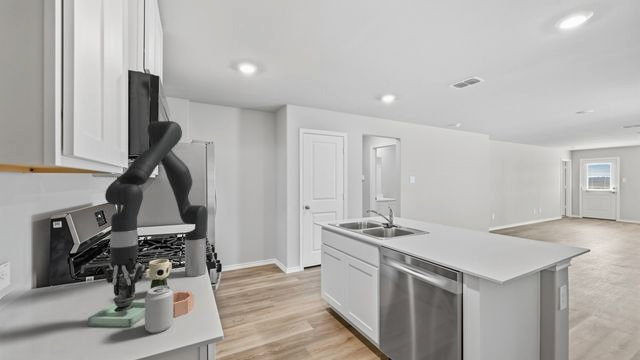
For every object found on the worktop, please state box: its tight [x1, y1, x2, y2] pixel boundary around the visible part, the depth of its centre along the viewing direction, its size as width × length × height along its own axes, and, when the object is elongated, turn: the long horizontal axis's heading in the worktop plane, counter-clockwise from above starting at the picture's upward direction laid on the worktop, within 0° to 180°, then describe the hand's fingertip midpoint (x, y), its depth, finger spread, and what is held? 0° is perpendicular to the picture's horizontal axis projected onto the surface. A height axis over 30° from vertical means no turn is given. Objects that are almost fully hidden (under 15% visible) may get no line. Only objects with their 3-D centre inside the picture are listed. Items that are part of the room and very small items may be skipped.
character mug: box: [144, 258, 173, 290], centre depth 107 cm, size 11×7×13 cm, turn 157°
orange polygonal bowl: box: [173, 290, 195, 319], centre depth 94 cm, size 10×10×4 cm
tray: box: [87, 300, 145, 328], centre depth 89 cm, size 12×14×2 cm
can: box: [144, 285, 174, 334], centre depth 82 cm, size 8×8×12 cm
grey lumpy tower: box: [112, 275, 136, 312], centre depth 89 cm, size 6×6×12 cm
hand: (124, 294), depth 89 cm, fingers closed on grey lumpy tower, 3 cm apart
